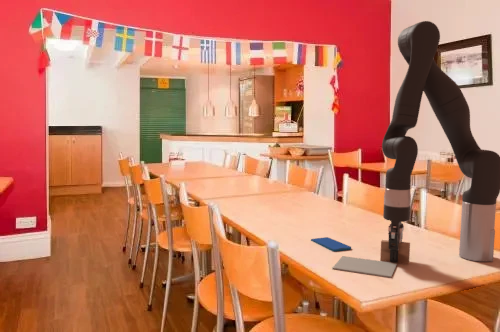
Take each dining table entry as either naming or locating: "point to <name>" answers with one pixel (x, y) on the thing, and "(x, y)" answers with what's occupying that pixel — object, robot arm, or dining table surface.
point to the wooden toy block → (402, 252)
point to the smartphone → (331, 244)
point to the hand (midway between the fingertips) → (394, 260)
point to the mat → (365, 266)
